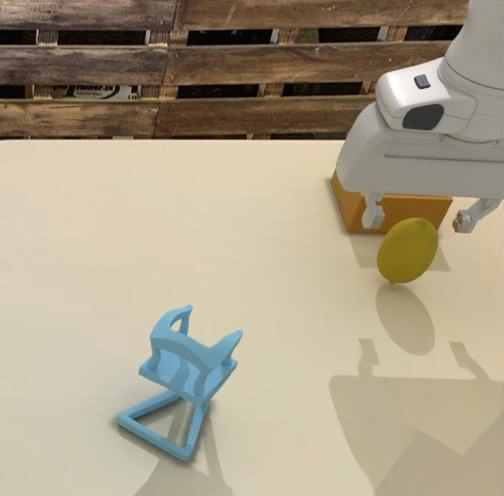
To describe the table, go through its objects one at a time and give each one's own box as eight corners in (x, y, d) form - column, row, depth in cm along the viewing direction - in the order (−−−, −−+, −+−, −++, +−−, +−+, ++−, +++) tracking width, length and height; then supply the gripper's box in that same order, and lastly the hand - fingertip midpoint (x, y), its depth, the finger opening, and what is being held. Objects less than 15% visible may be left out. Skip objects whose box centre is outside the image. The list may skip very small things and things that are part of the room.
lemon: (382, 259, 101) (412, 196, 95) (427, 283, 99) (460, 219, 93) (356, 281, 99) (384, 218, 93) (401, 305, 97) (433, 242, 90)
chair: (230, 413, 87) (265, 317, 77) (185, 463, 83) (216, 368, 74) (162, 377, 90) (188, 279, 80) (116, 423, 86) (137, 327, 76)
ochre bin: (413, 184, 110) (430, 149, 106) (435, 235, 104) (453, 200, 100) (330, 180, 110) (343, 145, 106) (347, 231, 104) (361, 196, 101)
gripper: (582, 85, 84) (505, 214, 95) (363, 74, 84) (312, 204, 95) (606, 121, 80) (524, 251, 92) (377, 110, 80) (323, 241, 92)
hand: (415, 227), depth 93 cm, fingers open, 8 cm apart
